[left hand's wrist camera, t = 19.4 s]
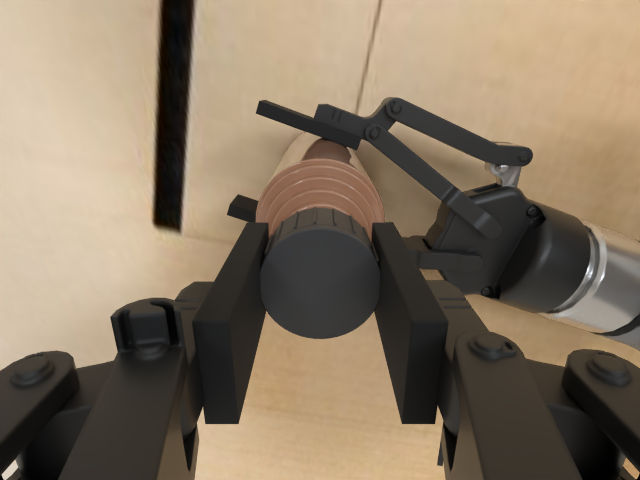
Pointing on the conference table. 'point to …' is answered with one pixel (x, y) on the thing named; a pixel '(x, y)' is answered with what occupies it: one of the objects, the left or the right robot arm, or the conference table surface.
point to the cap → (320, 274)
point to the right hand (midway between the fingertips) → (246, 157)
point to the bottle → (319, 184)
